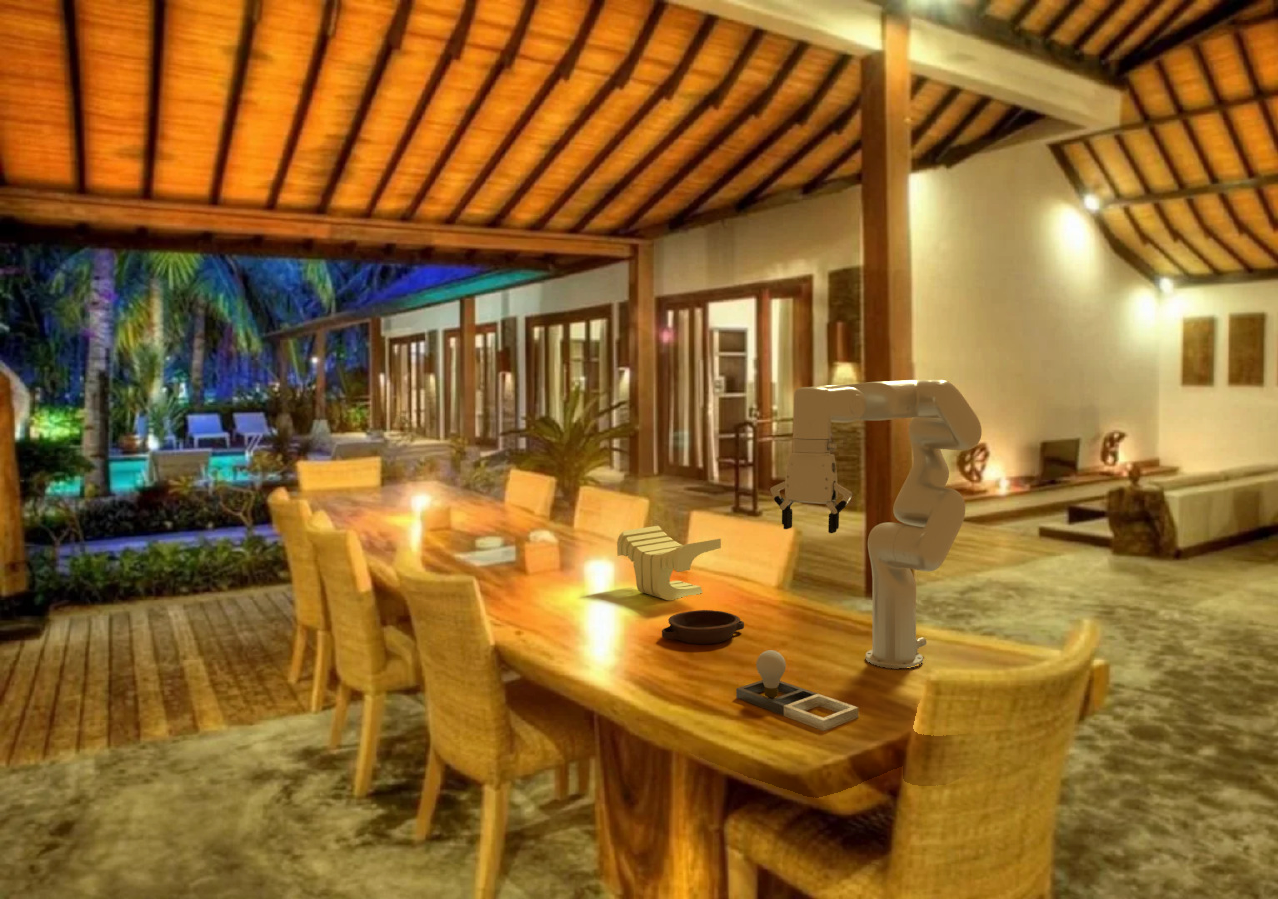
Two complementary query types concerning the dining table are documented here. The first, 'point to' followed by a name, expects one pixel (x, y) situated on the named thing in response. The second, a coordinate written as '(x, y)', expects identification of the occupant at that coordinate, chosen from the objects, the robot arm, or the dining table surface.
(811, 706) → the rail
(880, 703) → the dining table surface
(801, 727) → the dining table surface
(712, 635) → the dish
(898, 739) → the dining table surface
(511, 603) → the dining table surface
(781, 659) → the light bulb
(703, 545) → the slatted curved stool
